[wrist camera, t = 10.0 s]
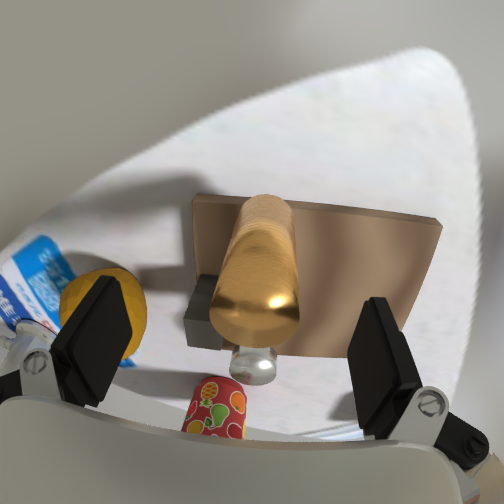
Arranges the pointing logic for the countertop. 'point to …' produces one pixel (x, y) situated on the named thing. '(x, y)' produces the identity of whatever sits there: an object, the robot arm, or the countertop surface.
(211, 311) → the lever
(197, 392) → the smoothie
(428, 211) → the countertop surface
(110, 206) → the countertop surface
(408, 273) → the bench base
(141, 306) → the apple
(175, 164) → the countertop surface
